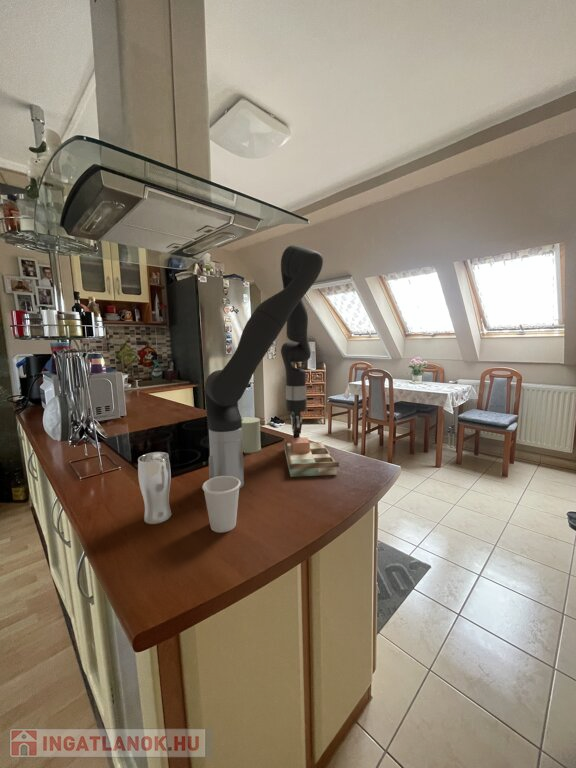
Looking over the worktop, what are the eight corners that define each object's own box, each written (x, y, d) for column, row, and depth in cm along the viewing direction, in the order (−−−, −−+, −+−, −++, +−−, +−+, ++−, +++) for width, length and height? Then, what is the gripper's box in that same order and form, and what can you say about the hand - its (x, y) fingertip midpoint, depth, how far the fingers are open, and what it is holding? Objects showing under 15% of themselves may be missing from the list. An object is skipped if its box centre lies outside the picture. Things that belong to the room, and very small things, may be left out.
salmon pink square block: (292, 453, 110) (292, 443, 109) (291, 447, 116) (290, 438, 115) (309, 452, 111) (309, 442, 110) (307, 446, 116) (307, 437, 116)
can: (235, 446, 125) (234, 416, 123) (258, 444, 127) (257, 414, 126) (238, 454, 116) (237, 422, 114) (263, 451, 119) (262, 420, 117)
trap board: (290, 476, 97) (290, 464, 96) (284, 449, 120) (284, 439, 120) (338, 474, 98) (338, 462, 97) (323, 448, 122) (323, 438, 121)
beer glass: (163, 506, 80) (159, 449, 78) (179, 515, 76) (175, 455, 74) (136, 518, 75) (131, 457, 73) (151, 529, 71) (146, 465, 69)
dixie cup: (201, 520, 74) (199, 479, 73) (236, 511, 77) (235, 473, 76) (208, 540, 67) (205, 495, 65) (246, 530, 70) (245, 487, 68)
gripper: (309, 400, 109) (309, 448, 112) (303, 394, 123) (303, 437, 125) (287, 401, 109) (288, 449, 111) (284, 394, 122) (284, 437, 124)
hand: (296, 443), depth 118 cm, fingers closed
